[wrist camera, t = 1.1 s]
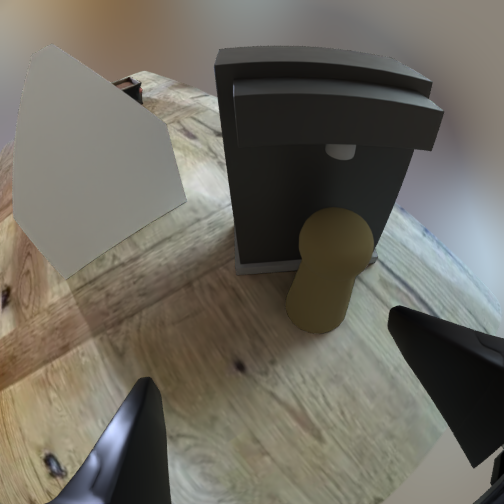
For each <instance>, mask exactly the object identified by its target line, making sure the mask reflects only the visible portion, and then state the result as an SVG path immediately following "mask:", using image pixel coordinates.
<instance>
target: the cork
mask: <svg viewBox="0 0 504 504" xmlns="http://www.w3.org/2000/svg"><path fill="white" fill-rule="evenodd" d="M373 249H374V240H373V234H372V232H371V229H370V228H369V226H368V224H367V222H366V221H365V220H364V219H363V218H362V217H361V216H359V215H358V214H356V213H354V212H353V211H350V210H347V209H344V208H338V207H329V208H323V209H321V210H319V211H317V212H315V213H314V214H312V215H311V216H310V217H309V218H308V219H307V220H306V221H305V223H304V225H303V227H302V229H301V231H300V235H299V251H300V254H301V257H302V261H301V263H300V265H299V268H298V270H297V273H296V275H295V278H294V280H293V282H292V285H291V287H290V290H289V292H288V294H287V297H286V305H285V307H286V311H287V314H288V316H289V318H290V319H291V321H292V322H293V324H295V325H296V326H297V327H298V328H300V329H301V330H304V331H306V332H309V333H317V334H322V333H326V332H329V331H332V330H333V329H335V328H336V327H338V326H339V325H340V324H341V322H342V321H343V320H344V318H345V314H346V311H347V308H348V304H349V301H350V297H351V293H352V289H353V285H354V281H355V277H356V276H357V275H358V274H360V273H361V272H362V271H363V270H364V269H365V268H366V266H367V265H368V263H369V262H370V260H371V258H372V254H373Z"/></svg>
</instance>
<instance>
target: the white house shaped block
mask: <svg viewBox="0 0 504 504" xmlns="http://www.w3.org/2000/svg"><path fill="white" fill-rule="evenodd" d="M12 189H13V218H14V219H15V221H16V222H17V223H18V225H19V226H20V227H21V229H22V230H23V231H24V232H25V234H26V235H27V236H28V237H29V239H30V240H31V241H32V242H33V244H34V245H35V246H36V247H37V248H38V250H39V251H40V252H41V253H42V254H43V256H44V257H45V258H46V259H47V260H48V261H49V262H50V263H51V265H52V266H53V267H54V268H55V269H56V270H57V271H58V272H59V273H60V274H61V275H62V277H63V278H64V279H65V280H66V279H68V278H69V277H70V276H72V275H73V274H75V273H76V272H77V271H79V270H80V269H82V268H83V267H84V266H86V265H87V264H89V263H90V262H91V261H93V260H94V259H96V258H97V257H99V256H100V255H102V254H103V253H105V252H106V251H108V250H109V249H111V248H112V247H114V246H115V245H117V244H118V243H120V242H121V241H123V240H124V239H126V238H127V237H129V236H130V235H132V234H134V233H135V232H137V231H138V230H140V229H141V228H143V227H145V226H146V225H148V224H149V223H151V222H153V221H154V220H156V219H158V218H159V217H161V216H163V215H164V214H166V213H168V212H169V211H171V210H173V209H174V208H176V207H178V206H180V205H181V204H183V203H185V202H187V199H186V195H185V192H184V188H183V185H182V181H181V178H180V174H179V170H178V167H177V163H176V159H175V155H174V151H173V148H172V144H171V140H170V136H169V132H168V128H167V124H166V123H165V122H163V121H162V120H161V119H159V118H158V117H157V116H155V115H154V114H153V113H151V112H150V111H149V110H147V109H146V108H145V107H143V106H142V105H141V104H139V103H138V102H137V101H135V100H134V99H133V98H131V97H130V96H128V95H127V94H126V93H124V92H123V91H122V90H120V89H119V88H117V87H116V86H115V85H113V84H112V83H110V82H109V81H107V80H106V79H105V78H103V77H102V76H100V75H99V74H97V73H96V72H95V71H93V70H91V69H90V68H89V67H87V66H86V65H84V64H83V63H81V62H80V61H78V60H77V59H75V58H74V57H72V56H71V55H69V54H68V53H66V52H65V51H63V50H61V49H60V48H58V47H57V46H55V45H54V44H50V45H48V46H46V47H44V48H43V49H41V50H39V51H37V52H35V53H34V54H32V57H31V60H30V63H29V67H28V71H27V74H26V78H25V83H24V87H23V91H22V97H21V102H20V107H19V113H18V119H17V126H16V134H15V144H14V156H13V185H12Z"/></svg>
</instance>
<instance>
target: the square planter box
mask: <svg viewBox="0 0 504 504" xmlns="http://www.w3.org/2000/svg"><path fill="white" fill-rule="evenodd" d="M141 83H142V82H140V81H138V80H136V79H134V78H133V77H127V78H124V79H120V80H118V81H115V82H112V84H113V85H115V86H116V87H117V88H119V89H120V90H122V91H123V92H124V93H126V94H127V95H128V96H130V97H131V98H133V99H134V100H135V101H137V102H138V103H139V104H143V103H142V88H141V87H140V86H141Z"/></svg>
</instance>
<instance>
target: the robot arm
mask: <svg viewBox="0 0 504 504" xmlns="http://www.w3.org/2000/svg"><path fill="white" fill-rule="evenodd" d="M388 330H389V332H390V334H391V335H392V337H393V339H394V341H395V342H396V344H397V346H398V348H399V350H400V352H401V353H402V355H403V357H404V359H405V360H406V362H407V363H408V365H409V366H410V368H411V369H412V370H413V372H414V373H415V375H416V376H417V378H418V379H419V381H420V382H421V384H422V385H423V387H424V388H425V390H426V391H427V393H428V394H429V396H430V397H431V399H432V400H433V402H434V403H435V405H436V407H437V408H438V410H439V411H440V413H441V414H442V416H443V418H444V419H445V421H446V422H447V424H448V426H449V427H450V429H451V431H452V432H453V434H454V436H455V437H456V439H457V441H458V443H459V444H460V446H461V448H462V450H463V451H464V453H465V455H466V456H467V458H468V460H469V462H470V463H471V466H472V467H473V468H475V467H477V466H478V465H479V464H481V463H482V462H483V461H484V460H485V459H487V458H488V457H489V456H490V455H491V454H493V453H494V452H495V451H496V450H497V449H498V448H499V447H500V446H502V447H503V449H504V338H500V337H496V336H492V335H488V334H485V333H482V332H479V331H476V330H475V331H474V330H473V329H470V328H467V327H464V326H461V325H458V324H455V323H452V322H449V321H446V320H443V319H440V318H437V317H434V316H431V315H428V314H425V313H422V312H419V311H416V310H413V309H410V308H407V307H404V306H400V305H399V306H396V307H394V308H391V310H390V312H389V318H388ZM490 483H491V485H492V486H491V487H490V489H488V491H486V492H485V493H484V494H483V495H482V496H481V497H480V498H479V499H478V500H476V501H475V502H474V503H473V504H504V450H503V451H502V452H501V453H500V454H499V455H498V456H497V457H496V458H495V460H494V467H493V472H492V477H491V482H490ZM45 504H171V495H170V485H169V473H168V457H167V437H166V427H165V420H164V413H163V406H162V398H161V393H160V391H159V389H158V387H157V386H156V384H155V383H154V381H153V380H152V378H151V377H143V378H139V379H138V381H137V382H136V384H135V385H134V387H133V388H132V390H131V391H130V393H129V394H128V396H127V397H126V399H125V400H124V402H123V403H122V405H121V406H120V408H119V409H118V411H117V412H116V414H115V415H114V417H113V418H112V420H111V421H110V423H109V424H108V426H107V427H106V429H105V430H104V432H103V434H102V435H101V437H100V438H99V440H98V441H97V443H96V444H95V446H94V449H92V450H91V452H90V454H89V455H88V457H87V458H86V460H85V461H84V463H83V464H82V466H81V467H80V468H79V470H78V471H77V472H76V474H75V475H74V476H73V477H72V479H71V480H70V481H69V482H68V484H67V485H66V486H65V487H64V488H63V490H62V491H61V492H60V493H59V495H58V496H57V497H56V498H54V499H53V500H52V501H50V502H48V503H45Z"/></svg>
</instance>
